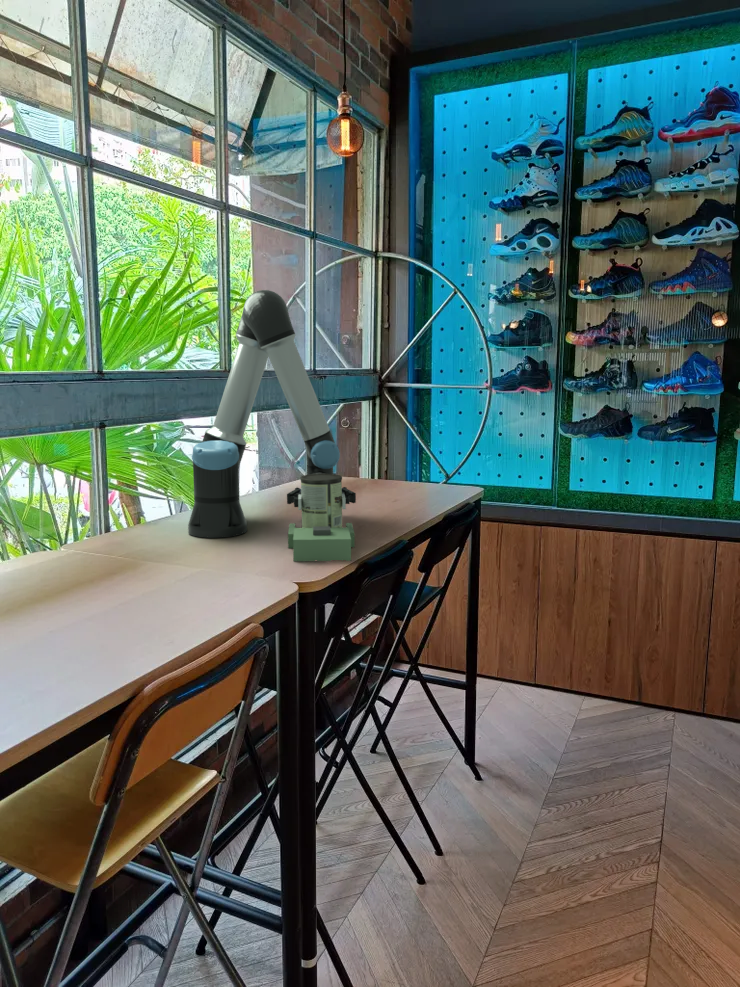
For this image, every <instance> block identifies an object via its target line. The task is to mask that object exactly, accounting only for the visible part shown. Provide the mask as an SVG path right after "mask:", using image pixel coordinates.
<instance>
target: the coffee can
mask: <svg viewBox="0 0 740 987" xmlns="http://www.w3.org/2000/svg"><path fill="white" fill-rule="evenodd" d="M299 479H300V489H301V500H302V509H301V528H313V527H319V526H330V528H343V509H342V488H343V487H342V480H343V476H342V475H340V474H334V473H333V474H309V475H307V474H305V475H302V476H300V478H299Z"/></svg>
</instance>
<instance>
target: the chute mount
mask: <svg viewBox="0 0 740 987" xmlns="http://www.w3.org/2000/svg"><path fill="white" fill-rule="evenodd" d="M355 540H356V539H355V530H354V527H353V523H352V522H345V527H343V526H342V528H330V526H319V527H313V528H302V527H296V523H293V522H292V523H289V524H288V533H287V546H288V547H287V548H288V549H293V550H292V551H293V553H292V554H293V556H292V558H293V562H332V561H331V560H342V561H341V562H343V560H346V561H348V562H350V561H351V562H352V548H351V547H353V548H355V545H356V544H355V542H356V541H355ZM315 560H317V561H315ZM346 561H345V562H346Z"/></svg>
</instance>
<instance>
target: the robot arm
mask: <svg viewBox="0 0 740 987" xmlns="http://www.w3.org/2000/svg"><path fill="white" fill-rule="evenodd" d="M235 337H236V339H237V341H238V345H237V346H238V347H237V350H236V352H235V355H234V357H233V362H232V365H231V367H230V371H229V374H228V378H227V381H226V383H225V387H224V390H223V393H222V397H221V400H220V403H219V406H218V409H217V413H216V416H215V419H214V421H213V422H214V423H213V426H212V427H210V428H208V429H207V430H205V432H204V435H203V439H202V441H201V442H198V443H197V444H195V445H194V446H193V448H192V454H191V460H192V470H193V471H192V472H193V473H192V475H193V477H192V478H193V498H194V501H193V506H192V510H191V514H190V517H189V521H188V526H187V528H188V529H187V530H188V531H187V532H188V535H190V536H193V537H198V538H209V539H210V538H212V539H215V538H216V539H217V538H231V537H235V536H240V535H243V534H245V533H246V532H247V530H248V527H247V526H248V523H247V519H246V517H245V514H244V512H243V509H242V506H241V500H240V465H241V461H242V459H243V455H244V452H245V449H246V446H247V441H246V440H245V438H244V434H245V431H246V429H247V425H248V421H249V420H250V416H251V413H252V410H253V406H254V403H255V400H256V397H257V394H258V391H259V387H260V384H261V381H262V377H263V375H264V371H265V368H266V365H267V363H268V359H269V361H270V364H271V365H272V368H273V371H274V373H275V375H276V377H277V380H278V382H279V385H280V387H281V390H282V393H283V394H284V397H285V399H286V401H287V402H286V403H287V404H288V407H289V408H290V411H291V413H292V415H293V418H294V420H295V423H296V425H297V428H298V430H299V432H300V435H301V438H302V440H303V443H304V445H305V448H306V449H305V450H306V452H305V453H306V475H309V474H334V467H335V466H336V465H337V464H338V462H339V461H340V458H341V454H340V448H339V447H338V444H336V441H335V440H334V435H333V430H332V428H330V426H329V425H328V424H329V423H328V421H327V420H326V417H325V414H324V412H323V409H322V407H321V405H320V402H319V399H318V396H317V394H316V392H315V390H314V387H313V385H312V383H311V380H310V376H309V375H308V372H307V369H306V367H305V366H304V362H303V360H302V357H301V355H300V353H299V350H298V348H297V345H296V343H295V337H296V332H295V330H294V328H293V323H292V322H291V317H290V314H289V310H288V305H287V303H286V302H285V300H284V299H283V298H282V296H281V295H280V294H279V293H277V292H275V291H272V290H270V289H261V290H256V291H255V292H253V293H252V294H250V295H249V296H248V297H247V298H246V300H245V302H244V305H243V310H242V313H241V317H240V320H239V324H238V326H237V330H236V333H235ZM356 493H357V492H354V491H352V490H350V489H349V488H348V487H346V486H343V487H342V510H347V508H346V505H350V503H351V504H356V503H357V501H356V500H357V499H356V496H357V494H356ZM286 504H288V505H291V504H293V507H294V508H298V509H297V510H298V511H302V500H301V487H295V488H294V489H293V490H292V491H290V492H288V493H286Z"/></svg>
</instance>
